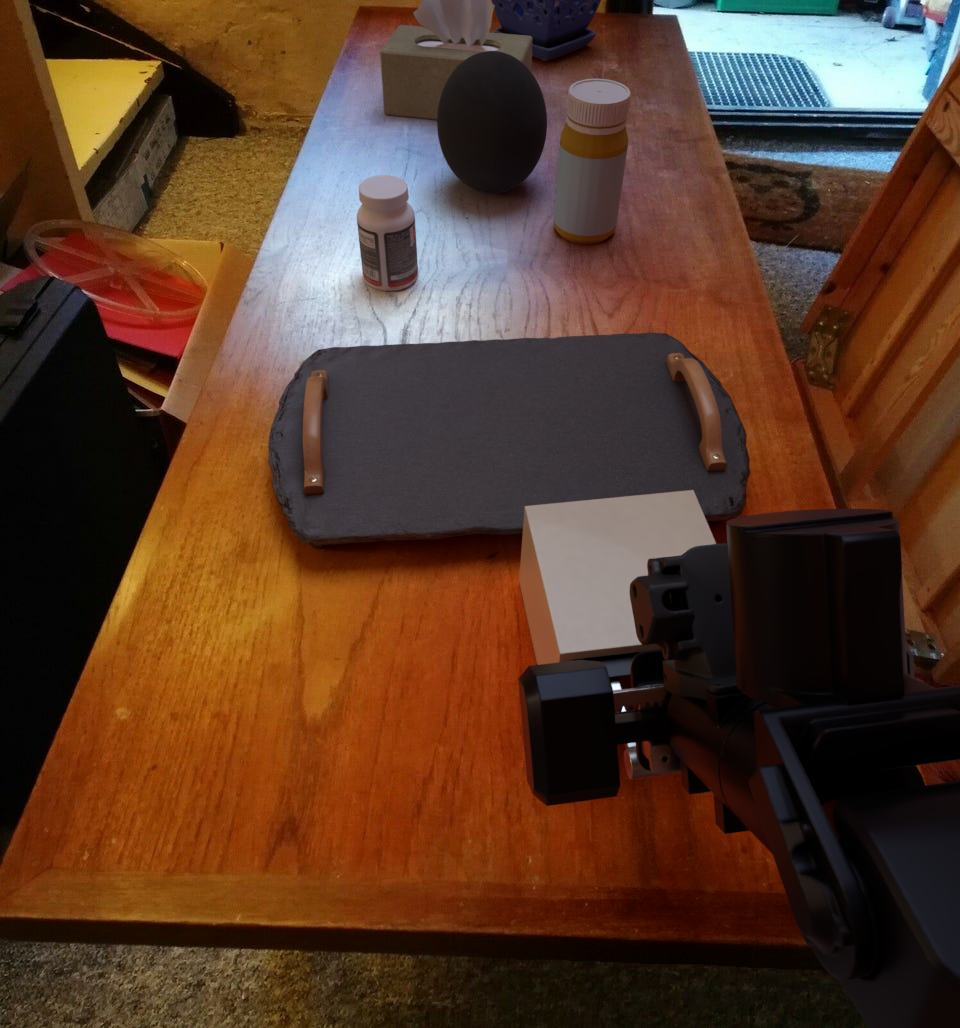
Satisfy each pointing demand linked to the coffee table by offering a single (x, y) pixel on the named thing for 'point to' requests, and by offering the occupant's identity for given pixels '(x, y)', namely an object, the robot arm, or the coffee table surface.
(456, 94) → the decorative egg
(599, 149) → the bottle
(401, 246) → the pill bottle
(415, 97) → the tissue box
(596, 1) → the flower pot
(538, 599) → the grey drawer unit
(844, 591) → the robot arm
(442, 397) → the serving tray
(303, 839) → the coffee table surface
